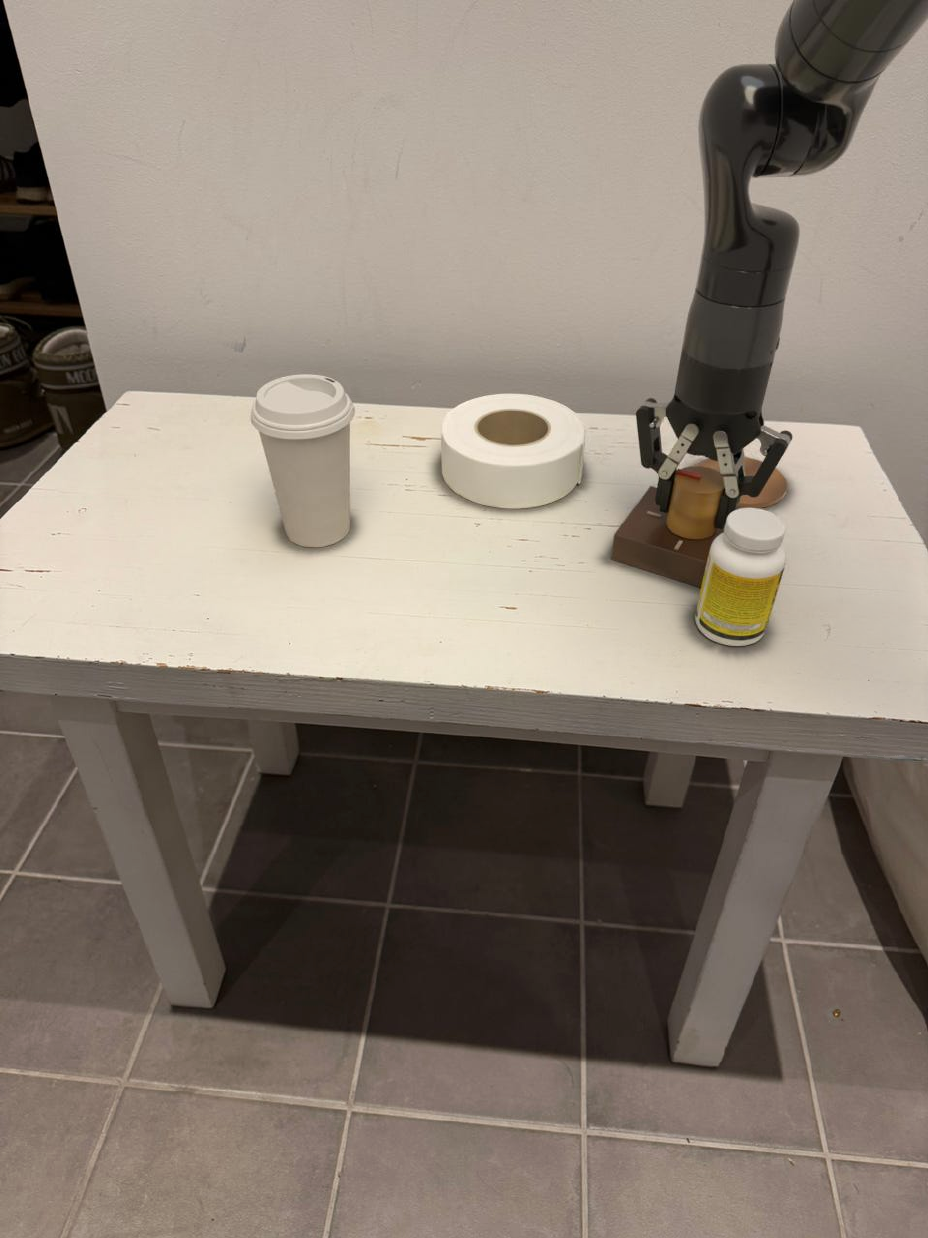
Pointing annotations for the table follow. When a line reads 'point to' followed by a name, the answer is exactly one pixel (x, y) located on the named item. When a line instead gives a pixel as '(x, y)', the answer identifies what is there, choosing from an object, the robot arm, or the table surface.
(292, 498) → the coffee cup
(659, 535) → the panel
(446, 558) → the table surface
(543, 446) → the tape roll
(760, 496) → the coaster
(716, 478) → the knob
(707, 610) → the pill bottle
